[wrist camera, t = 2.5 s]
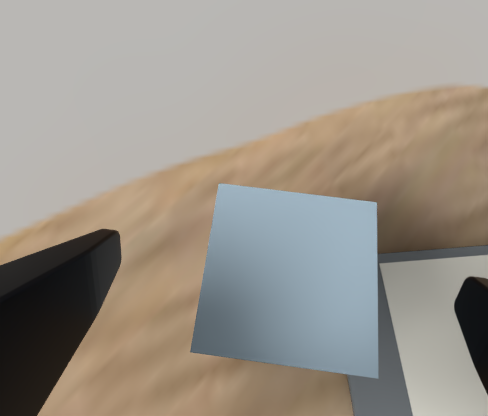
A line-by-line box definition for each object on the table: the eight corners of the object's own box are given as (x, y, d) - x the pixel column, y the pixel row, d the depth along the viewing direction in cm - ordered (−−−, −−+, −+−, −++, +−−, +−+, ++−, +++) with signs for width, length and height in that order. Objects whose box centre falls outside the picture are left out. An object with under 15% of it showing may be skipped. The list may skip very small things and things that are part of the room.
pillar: (302, 353, 16) (378, 378, 7) (218, 342, 16) (190, 352, 7) (307, 269, 17) (376, 202, 8) (230, 259, 18) (218, 183, 9)
